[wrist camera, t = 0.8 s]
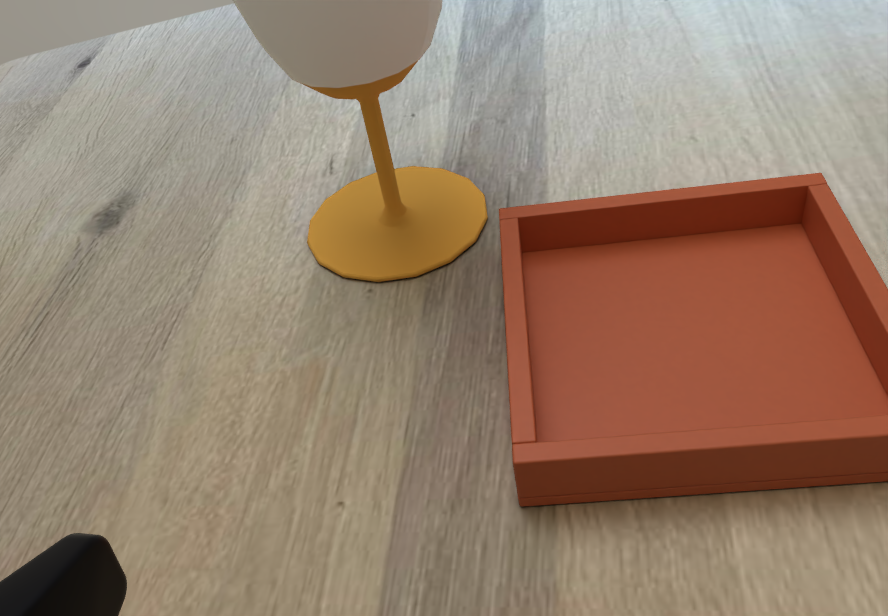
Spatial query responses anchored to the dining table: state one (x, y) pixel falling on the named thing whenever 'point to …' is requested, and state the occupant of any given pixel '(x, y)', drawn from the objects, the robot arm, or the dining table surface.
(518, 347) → the tray
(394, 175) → the cup
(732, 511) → the dining table surface
